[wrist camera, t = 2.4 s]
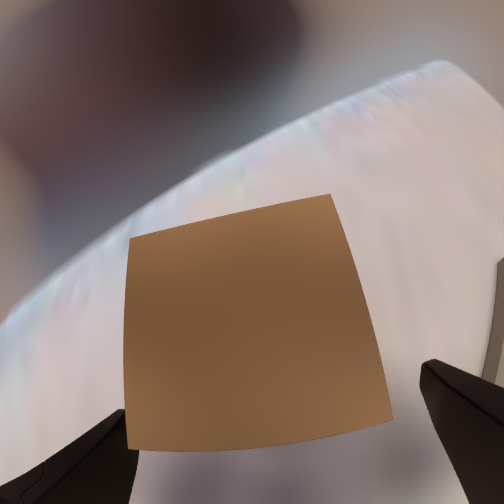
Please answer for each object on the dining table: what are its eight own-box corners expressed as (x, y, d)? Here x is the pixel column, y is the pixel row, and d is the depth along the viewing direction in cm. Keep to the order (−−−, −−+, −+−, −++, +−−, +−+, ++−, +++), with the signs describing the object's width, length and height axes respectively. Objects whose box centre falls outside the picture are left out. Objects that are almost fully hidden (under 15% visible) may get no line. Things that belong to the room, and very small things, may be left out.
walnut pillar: (333, 413, 15) (393, 419, 4) (253, 426, 15) (128, 448, 4) (319, 339, 17) (330, 193, 6) (244, 353, 18) (129, 238, 7)
